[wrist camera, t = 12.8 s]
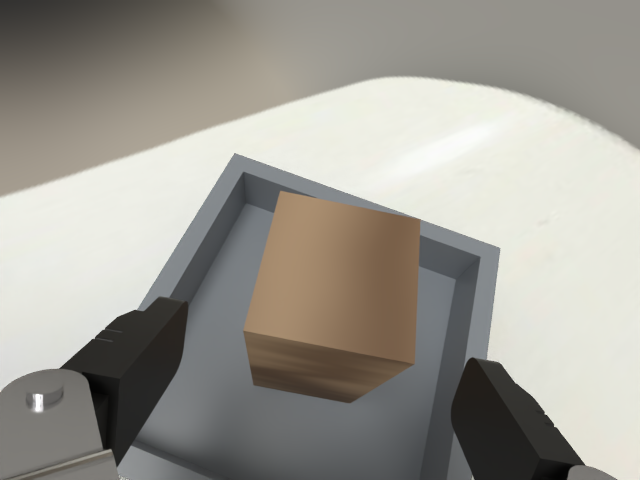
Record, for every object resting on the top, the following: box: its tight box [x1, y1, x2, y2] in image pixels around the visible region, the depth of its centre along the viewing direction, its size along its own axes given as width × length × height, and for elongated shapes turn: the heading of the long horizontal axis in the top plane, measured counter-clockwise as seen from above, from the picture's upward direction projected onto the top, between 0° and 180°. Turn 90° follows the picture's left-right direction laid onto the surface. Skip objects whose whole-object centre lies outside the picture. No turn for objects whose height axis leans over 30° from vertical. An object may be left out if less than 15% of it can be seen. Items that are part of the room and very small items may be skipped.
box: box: [117, 153, 500, 480], centre depth 20 cm, size 16×16×4 cm
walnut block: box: [243, 191, 421, 404], centre depth 17 cm, size 5×5×10 cm
